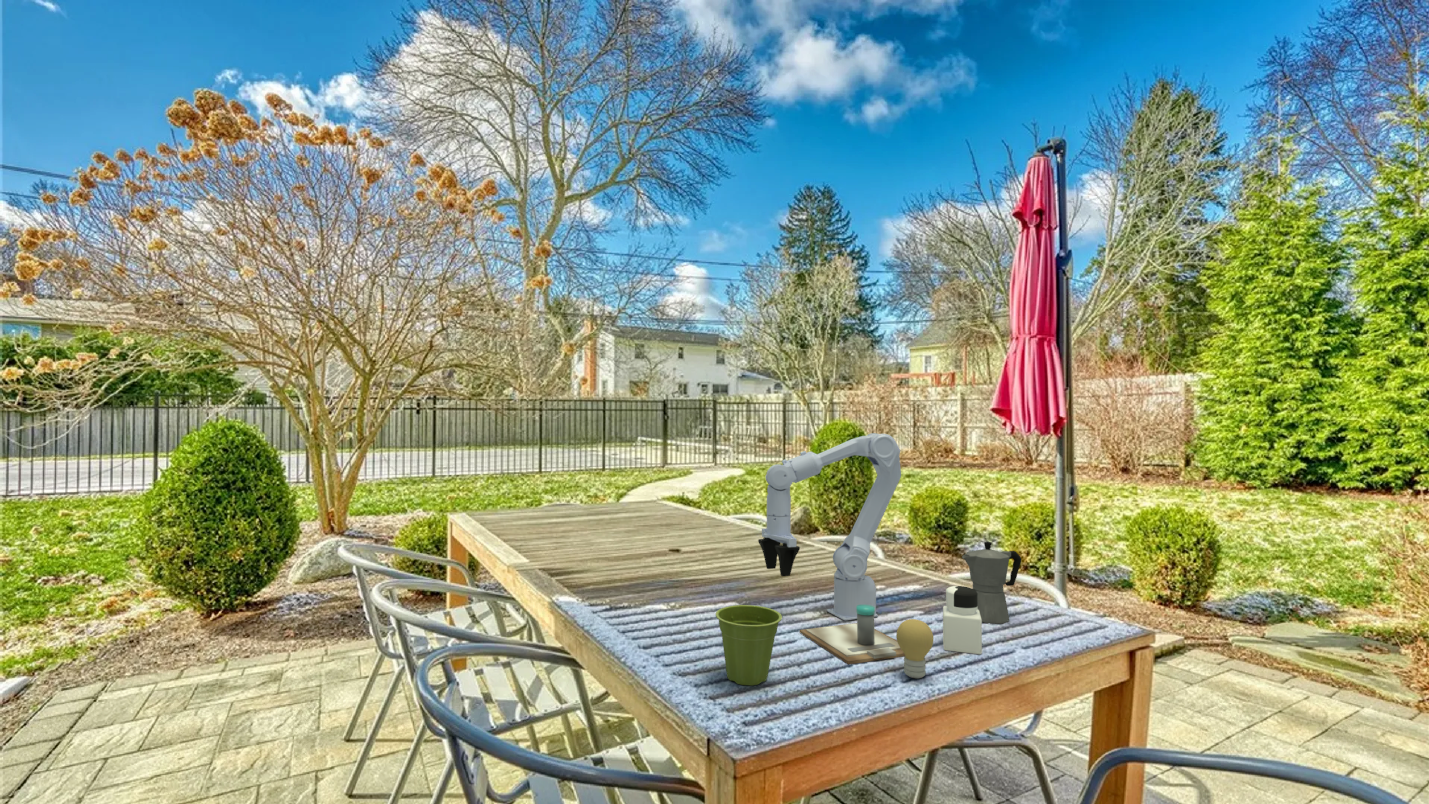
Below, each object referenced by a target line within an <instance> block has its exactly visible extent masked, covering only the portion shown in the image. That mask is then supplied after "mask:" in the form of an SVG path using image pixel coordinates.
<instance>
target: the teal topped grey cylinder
mask: <svg viewBox="0 0 1429 804" xmlns="http://www.w3.org/2000/svg"><path fill="white" fill-rule="evenodd" d="M856 608H857V619H856V623H857V643H858V644H860V645H865V646H871V645H874V644H875V637H874V629H875V617H874V614H875V607H874V606H871V605H857V606H856Z"/></svg>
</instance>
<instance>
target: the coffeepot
mask: <svg viewBox="0 0 1429 804" xmlns="http://www.w3.org/2000/svg"><path fill="white" fill-rule="evenodd" d="M983 544H984V549H978V550H977V549H976V550H970V551H967V552H966V553H965V554H964V555H962V556H961V558H962V559H963V560H964V561H965V563H966V565H967V566H968V569H969V575H970V576H969V577H970V581H971V582H972V587H971V588H972V589H974V590H975V591H976V592H977V593H978V610H979V612H980V616H981V619H982V624H988V623H990V625H1003V624H1007V623H1009V621H1010V616H1009V609H1008V604H1007V599H1006V593H1005V592H1004V586H1007V587H1012V586H1014V585H1015V583H1016V580H1017V576H1018V574H1019V570H1020V567H1021V564H1022V558H1021V556H1020V555H1019V554H1018V552H1017V551H1015V550H1009V551H1007V550H1004V551H1003V550H1001V551H997V550H993V549H991V548H992V542H991V541H984V542H983ZM1011 559H1012V560H1013V562H1012V569H1011V572H1010V576H1009V577H1010V580H1009V581H1007V574H1008V570H1009V569H1008V568H1009V564H1010V563H1009V561H1010V560H1011Z"/></svg>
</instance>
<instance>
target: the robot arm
mask: <svg viewBox="0 0 1429 804" xmlns="http://www.w3.org/2000/svg"><path fill="white" fill-rule="evenodd" d="M806 451H807V450H804V451H801V452H800V455H798V456H795V457H792V458H791V459H788V460H787V459H782V460H781V463H782V464H777V463H776V464H773V465H771V466H770V467H769V468H768V469H767V471H766V475H765V480H766V483H767V484H768V485H767V489H766V490H767V491H766V492H767V495H766V528H761V537H763V538H758V540H757V542H758V543H759V545H760V548H761V550H762V554H763V556H764V557H763V558H764V563H765V566H766V569H767V570H772V569H776V567H777V563H778V564H779V572H780V576H781V577H790V576H791V573H792V569H793V566H794V562H795V560H796V557H797V556H798V555H797V554H798V553H799V552H800V548H801V547H800V546H799V545H797V544H798V543H797V541H798V540H797V538H796V537H795V536H794V535H793V534H792V533H791V528H792V527H791V523H792V522H791V518H792V517H791V516H792V515H791V514H792V513H791V512H792V511H791V509H792V508H791V506H792V503H791V502H792V498H791V497H792V495H791V486H792V484H793V483H795V484H797V483H799V482H802V481H804V480H807V479H809V478H812V477H814V476H817V475H819V474H820V473H821V471H822V469H823V467H824V466H828V465H830V464H833V463H836V462H839V461H841V460H844V459H846V458H850V457H853V456H861V457H866V458H867V459H868V460H869V461H870V462H871V463H872V465H873V468H874V470H875V473H876V475H877V476H876V477H875V480H874V481H873V484H872V487H871V488H870V490H869V493H868V495H867V496H866V500H865V501H864V504H863V505H862V508H861V510H860V512H859V514H858V517H857V518H856V521H855V522H854V525H853V527H852V528H851V531H850V533H849V534H848V535H847V536H846V537H845V538H844V539H843V541H842V543H841V545H840V546H838V547H837V548H836V549H835V551H834V552H833V555H832V561H833V564H834V565H835V567H836V571H835V572H834V574H833V576H834V577H833V607H832V608H827V609H826V612H828V613H830V614H831V615H833V616H835V617H837V618H839V619H841V620H843V621H851V620H857V608H856V606H857V605H871V606H874V607H875V614H874V618H877V617H879V615H878V614H877V609H876V608H877V589H876V582H875V581H874V579H873V578H872V577H871V576H870V575H866V572H867V570H868V559H869V556H870V552H871V543H872V541H873V539H874V536H875V533H876V531H877V529H878V527H879V525H880V523H881V522H882V518H883V517H884V515H885V513H886V510H887V508H888V506H889V504H890V501H891V500H892V497H893V495H894V493H895V491H896V489H897V487H898V484H899V482H900V480H901V478H902V470H901V469H902V468H901V459H900V453H901V449H900V447H899V445H898V443H897V441H896V440H895V438H894V437H893V436H891V435H890V434H887V433H876V432H872V433H869V434H867V435H862V436H859V437H858V436H857V437H854V438H852V439H849V440H847V441H845V442H842V443H841V444H838V445H836V446H833V447H831V448H829V449H826V450H824V451H822V452H820V453H815V452H813V451H807V452H806ZM777 560H778V561H777Z"/></svg>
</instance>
